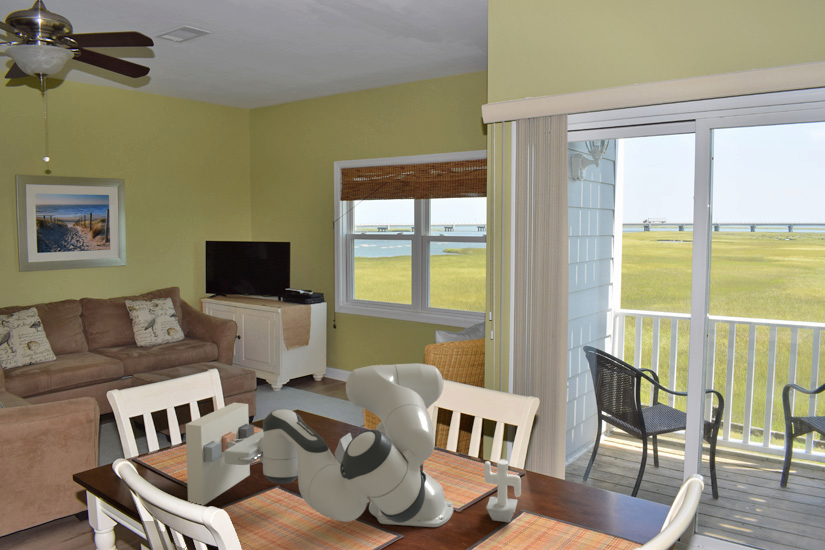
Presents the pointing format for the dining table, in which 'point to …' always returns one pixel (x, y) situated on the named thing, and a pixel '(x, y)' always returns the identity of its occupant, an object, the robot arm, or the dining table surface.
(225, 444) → the terracotta button
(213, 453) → the slate grey button
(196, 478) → the control panel
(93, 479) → the dining table surface
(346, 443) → the white carton box
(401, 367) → the robot arm
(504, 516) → the figurine
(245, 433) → the charcoal button
